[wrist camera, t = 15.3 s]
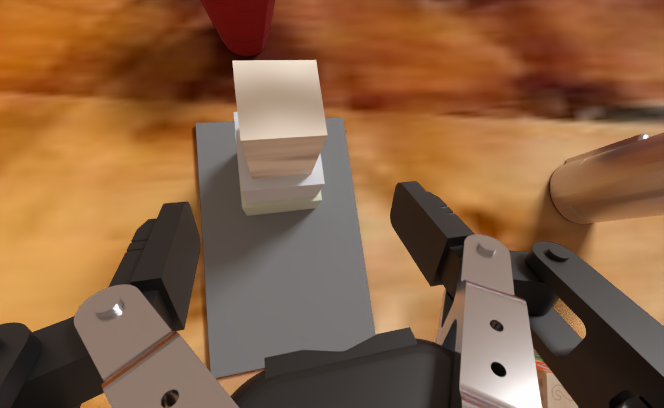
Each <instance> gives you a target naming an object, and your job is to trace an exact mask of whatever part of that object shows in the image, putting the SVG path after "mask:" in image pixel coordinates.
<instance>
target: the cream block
mask: <svg viewBox="0 0 664 408" xmlns="http://www.w3.org/2000/svg"><path fill="white" fill-rule="evenodd" d="M232 63H233V72H234V82H235V92H236V101H237V111H238V121H239V130H240V140H241V144H242V147H243V150H244V154H245V157H246V160H247V164H248V167H249V170H250V174H251V177H252V179H259V178H270V177H281V176H292V175H303V174H312V171H313V169H314V167H315V164H316V162H317V159H318V157H319V155H320V152H321V150H322V147H323V145H324V143H325V140H326V138H327V128H326V122H325V115H324V109H323V102H322V96H321V90H320V83H319V77H318V70H317V64H316V60H243V61H232Z"/></svg>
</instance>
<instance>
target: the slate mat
mask: <svg viewBox="0 0 664 408" xmlns="http://www.w3.org/2000/svg"><path fill="white" fill-rule="evenodd" d="M325 122H326V128H327V138H326V140H325V143H324V145H323V147H322V150H321V152H320V154H321V161H322V168H323V175H324V182H325V184H324V186H323V187H322V189H321V196H322V201H321V202H320V203H319V205H318V206H317V207H316V208H314V209H305V210H296V211H287V212H278V213H269V214H260V215H251V216H247V215H246V213H245V212H244V211H243V209H242V201H241V191H240V180H239V169H238V158H237V148H236V137H235V122H214V123H196V138H197V155H198V172H199V189H200V205H201V222H202V239H203V255H204V272H205V289H206V306H207V322H208V339H209V356H210V372H211V374H212V375H213V376H214V377H215V378H218V377H223V376H228V375H232V374H237V373H242V372H246V371H251V370H256V369H261V368H265V361H264V358H266V357H271V356H275V355H280V354H285V353H290V352H294V351H299V350H320V351H345V350H348V349H350V348H352V347H354V346H356V345H357V344H359V343H361V342H363V341H365V340H367V339H369V338H371V337H373V336H375V328H374V322H373V315H372V308H371V301H370V295H369V288H368V281H367V275H366V268H365V261H364V255H363V248H362V241H361V235H360V228H359V221H358V215H357V208H356V201H355V195H354V188H353V181H352V175H351V168H350V161H349V155H348V148H347V141H346V135H345V128H344V121H343V118H325Z"/></svg>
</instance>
